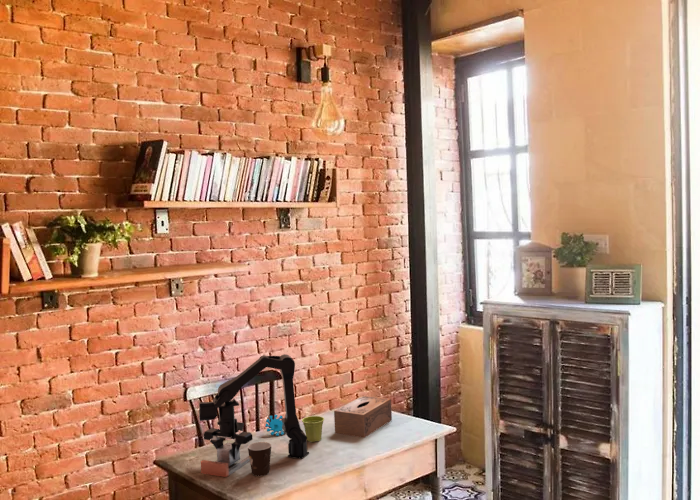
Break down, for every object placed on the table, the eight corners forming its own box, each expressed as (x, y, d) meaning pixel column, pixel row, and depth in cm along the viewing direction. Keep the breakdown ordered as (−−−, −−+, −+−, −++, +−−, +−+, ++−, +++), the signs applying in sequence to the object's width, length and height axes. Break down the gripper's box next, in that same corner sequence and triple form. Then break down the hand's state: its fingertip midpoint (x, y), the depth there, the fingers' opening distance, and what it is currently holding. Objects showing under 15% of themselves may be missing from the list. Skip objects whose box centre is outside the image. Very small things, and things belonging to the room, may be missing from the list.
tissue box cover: (363, 416, 305) (363, 395, 304) (391, 420, 297) (391, 398, 297) (334, 433, 282) (334, 410, 282) (364, 438, 275) (363, 414, 275)
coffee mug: (249, 469, 246) (248, 442, 245) (272, 467, 246) (271, 441, 246) (247, 481, 234) (246, 454, 233) (271, 479, 235) (270, 452, 234)
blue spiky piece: (266, 434, 278) (264, 413, 285) (263, 441, 283) (262, 420, 289) (291, 434, 282) (289, 413, 288) (288, 441, 286) (287, 420, 292)
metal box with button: (240, 458, 253) (240, 443, 253) (229, 465, 246) (229, 450, 246) (228, 457, 255) (228, 441, 255) (217, 464, 248) (216, 448, 248)
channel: (251, 459, 255) (251, 448, 255) (226, 476, 239) (225, 464, 238) (227, 456, 259) (227, 445, 259) (201, 473, 243) (200, 461, 243)
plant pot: (298, 442, 272) (297, 421, 272) (308, 435, 281) (307, 415, 281) (319, 444, 269) (318, 423, 268) (328, 437, 278) (327, 416, 277)
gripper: (259, 413, 253) (260, 453, 254) (218, 409, 260) (220, 448, 261) (243, 422, 243) (245, 463, 244) (201, 418, 250) (203, 458, 251)
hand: (228, 458), depth 250 cm, fingers closed on metal box with button, 5 cm apart
